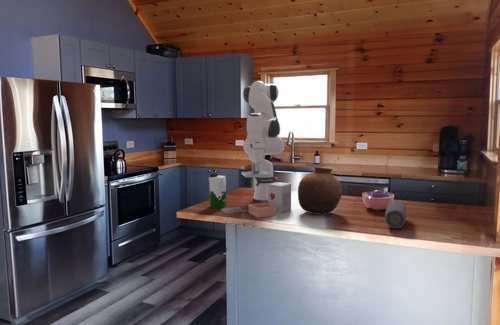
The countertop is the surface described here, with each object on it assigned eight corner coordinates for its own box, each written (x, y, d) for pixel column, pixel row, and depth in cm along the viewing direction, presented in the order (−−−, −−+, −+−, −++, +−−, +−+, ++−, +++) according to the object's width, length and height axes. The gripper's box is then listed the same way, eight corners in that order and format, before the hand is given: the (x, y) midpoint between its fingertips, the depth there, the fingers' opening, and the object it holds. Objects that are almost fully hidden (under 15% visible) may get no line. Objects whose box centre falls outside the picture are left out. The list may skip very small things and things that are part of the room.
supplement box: (268, 210, 211) (268, 183, 209) (278, 207, 218) (278, 181, 216) (281, 213, 205) (281, 185, 203) (291, 210, 211) (291, 183, 210)
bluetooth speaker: (386, 217, 192) (386, 198, 191) (406, 219, 189) (406, 199, 188) (383, 230, 172) (384, 208, 170) (405, 232, 168) (406, 209, 167)
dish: (267, 211, 209) (267, 202, 208) (276, 216, 199) (276, 206, 198) (248, 213, 205) (248, 204, 204) (256, 218, 195) (256, 208, 194)
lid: (241, 174, 206) (241, 164, 206) (264, 173, 209) (264, 163, 208) (245, 177, 193) (245, 167, 193) (270, 176, 196) (270, 166, 195)
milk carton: (213, 205, 226) (212, 171, 224) (227, 205, 224) (227, 172, 222) (208, 208, 218) (207, 174, 215) (223, 209, 216) (223, 174, 214)
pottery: (293, 216, 197) (293, 168, 194) (303, 207, 218) (303, 163, 215) (338, 220, 188) (338, 170, 185) (344, 210, 210) (345, 164, 207)
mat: (239, 207, 219) (239, 206, 219) (247, 212, 208) (247, 211, 208) (219, 209, 215) (219, 208, 215) (226, 214, 204) (226, 213, 204)
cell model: (395, 206, 216) (396, 186, 215) (392, 214, 198) (393, 193, 197) (364, 204, 223) (364, 185, 222) (359, 211, 205) (359, 191, 204)
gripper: (245, 143, 209) (246, 168, 210) (253, 145, 189) (253, 173, 190) (256, 143, 210) (257, 168, 211) (265, 145, 190) (265, 172, 191)
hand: (255, 170), depth 201 cm, fingers closed on lid, 3 cm apart
